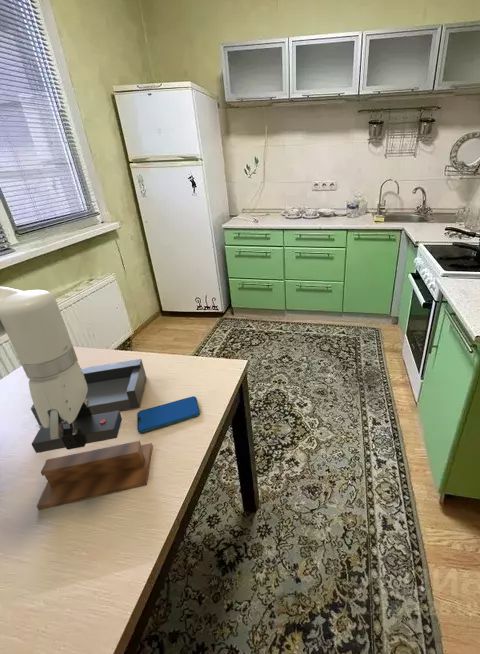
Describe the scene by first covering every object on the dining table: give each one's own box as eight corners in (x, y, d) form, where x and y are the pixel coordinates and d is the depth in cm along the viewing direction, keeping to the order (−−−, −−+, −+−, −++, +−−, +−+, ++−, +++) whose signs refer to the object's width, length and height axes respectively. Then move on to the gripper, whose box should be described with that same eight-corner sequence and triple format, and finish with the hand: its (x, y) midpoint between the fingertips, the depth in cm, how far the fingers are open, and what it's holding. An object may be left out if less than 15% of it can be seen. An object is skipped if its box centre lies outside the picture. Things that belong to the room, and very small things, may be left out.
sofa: (39, 426, 82) (28, 405, 79) (58, 392, 93) (50, 372, 90) (139, 407, 87) (133, 387, 84) (146, 377, 98) (141, 358, 95)
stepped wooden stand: (38, 509, 63) (26, 490, 60) (57, 465, 72) (48, 446, 69) (146, 484, 67) (139, 465, 64) (152, 445, 76) (147, 427, 73)
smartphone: (200, 413, 83) (137, 431, 78) (200, 416, 84) (138, 434, 78) (195, 395, 89) (137, 411, 84) (196, 398, 90) (137, 414, 85)
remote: (36, 453, 60) (30, 443, 59) (47, 432, 65) (42, 422, 64) (116, 438, 63) (113, 428, 62) (122, 419, 68) (119, 409, 67)
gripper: (46, 337, 63) (74, 408, 71) (-2, 397, 48) (41, 478, 56) (88, 332, 64) (112, 401, 72) (55, 389, 49) (89, 468, 57)
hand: (81, 434), depth 64 cm, fingers closed on remote, 5 cm apart
